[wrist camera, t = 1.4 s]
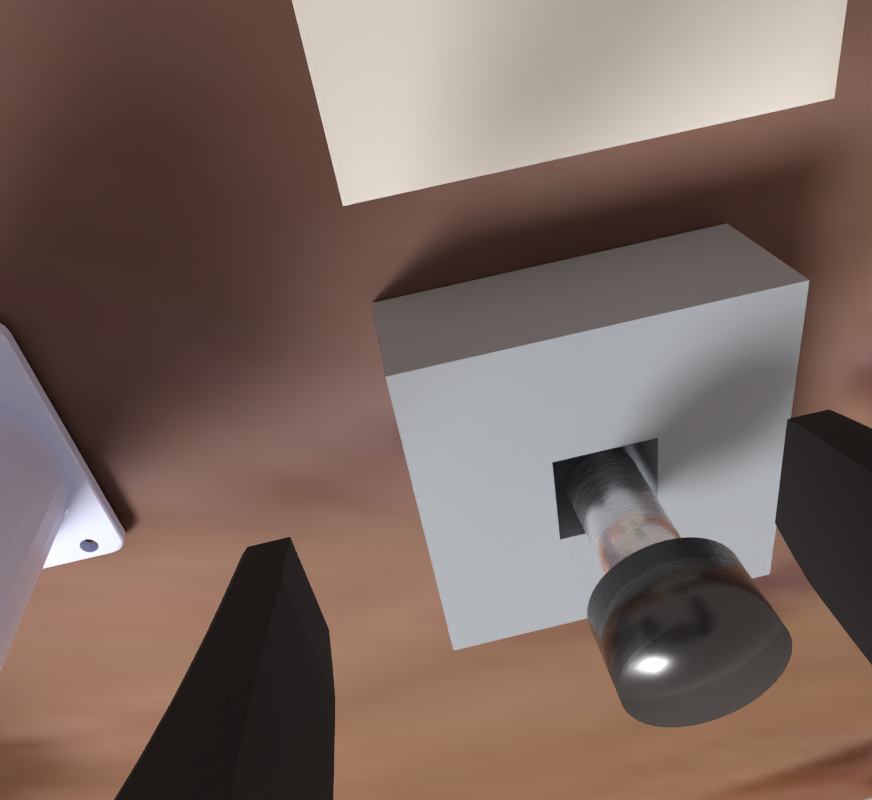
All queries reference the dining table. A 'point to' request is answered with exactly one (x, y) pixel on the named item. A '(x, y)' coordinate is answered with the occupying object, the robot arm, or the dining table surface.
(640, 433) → the grey block
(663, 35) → the cream block
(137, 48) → the dining table surface
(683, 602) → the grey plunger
